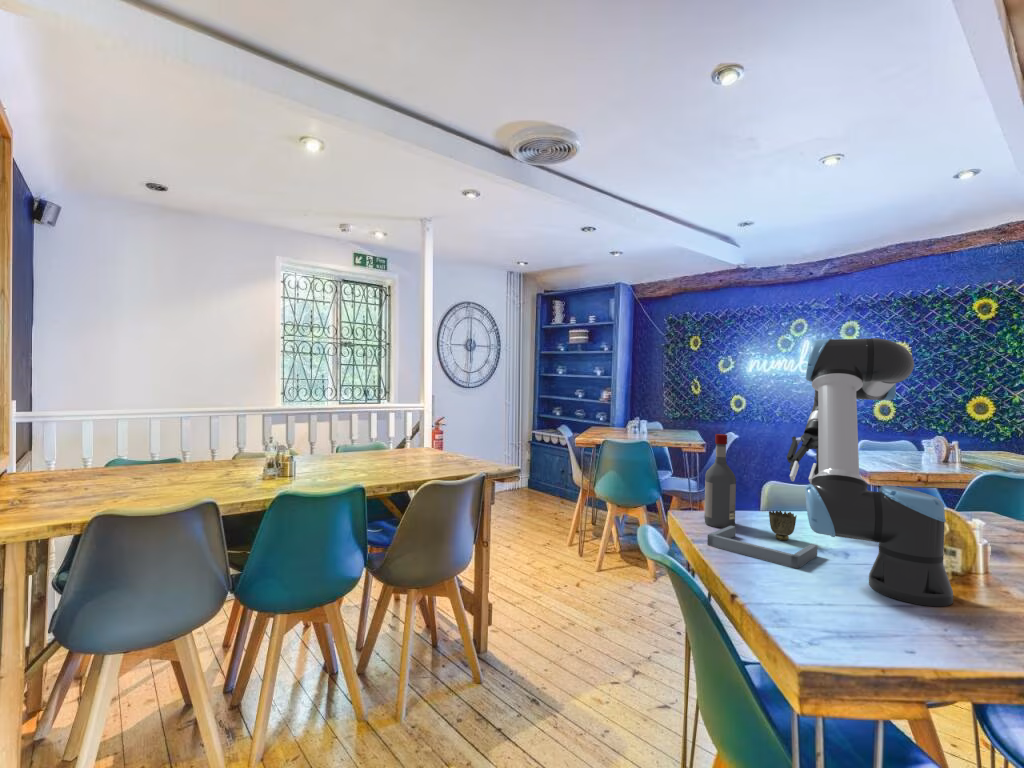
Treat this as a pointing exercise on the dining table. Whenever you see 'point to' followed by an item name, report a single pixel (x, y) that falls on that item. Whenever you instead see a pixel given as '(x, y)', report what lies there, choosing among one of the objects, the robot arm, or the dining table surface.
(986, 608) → the dining table surface
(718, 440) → the liquor
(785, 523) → the cup
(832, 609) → the dining table surface
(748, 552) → the corral
